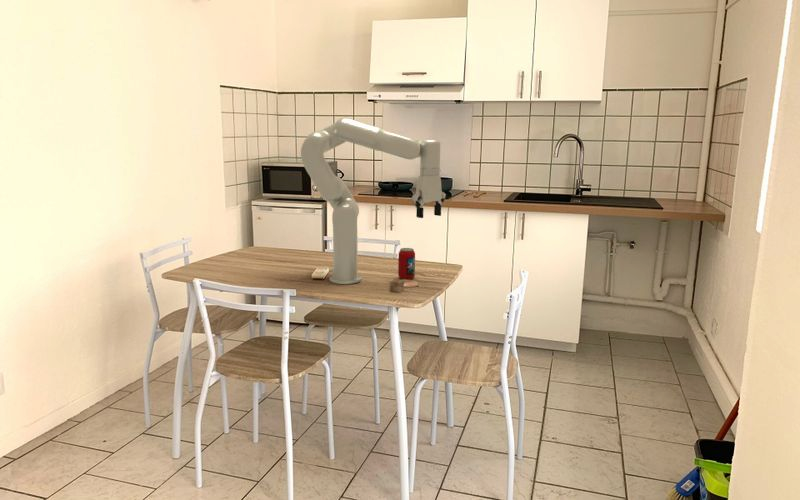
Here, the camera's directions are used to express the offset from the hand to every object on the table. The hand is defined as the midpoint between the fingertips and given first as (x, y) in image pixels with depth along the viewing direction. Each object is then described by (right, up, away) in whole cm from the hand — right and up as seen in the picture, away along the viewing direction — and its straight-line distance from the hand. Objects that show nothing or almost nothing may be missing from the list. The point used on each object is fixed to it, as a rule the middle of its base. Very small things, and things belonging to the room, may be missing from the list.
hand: (428, 216), depth 231 cm
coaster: (-9, -26, +2) cm, 28 cm away
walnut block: (-12, -29, -8) cm, 32 cm away
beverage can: (-9, -25, +11) cm, 29 cm away
